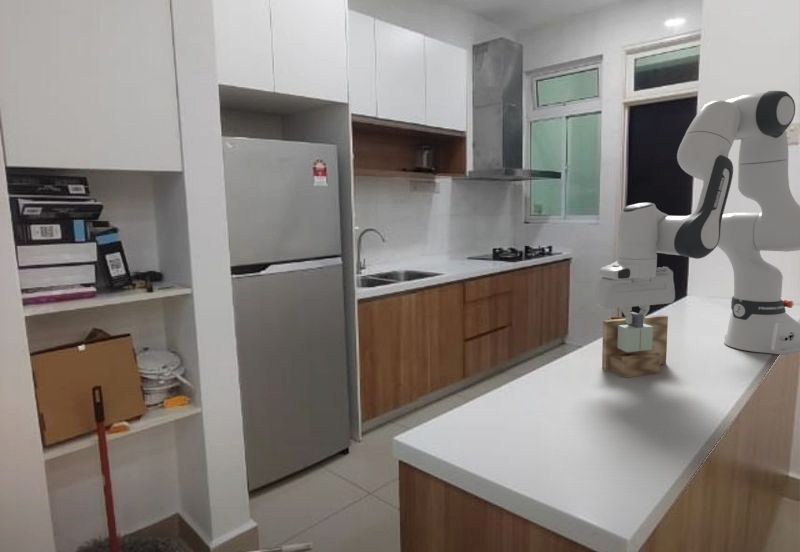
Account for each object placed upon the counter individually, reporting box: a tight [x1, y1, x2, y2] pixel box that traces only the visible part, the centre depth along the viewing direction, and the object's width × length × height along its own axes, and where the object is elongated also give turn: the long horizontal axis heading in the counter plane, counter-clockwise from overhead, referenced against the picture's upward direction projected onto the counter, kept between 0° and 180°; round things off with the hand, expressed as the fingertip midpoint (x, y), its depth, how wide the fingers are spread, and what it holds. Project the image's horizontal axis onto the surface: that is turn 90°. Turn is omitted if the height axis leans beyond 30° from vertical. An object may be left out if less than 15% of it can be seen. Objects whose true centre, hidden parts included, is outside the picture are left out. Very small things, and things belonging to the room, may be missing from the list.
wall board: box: [601, 314, 669, 379], centre depth 126 cm, size 18×8×13 cm, turn 101°
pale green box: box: [617, 311, 653, 352], centre depth 125 cm, size 7×4×9 cm, turn 102°
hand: (635, 323), depth 124 cm, fingers closed on pale green box
